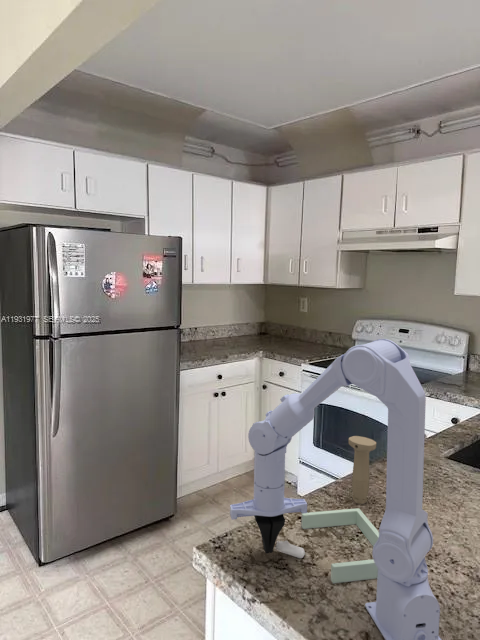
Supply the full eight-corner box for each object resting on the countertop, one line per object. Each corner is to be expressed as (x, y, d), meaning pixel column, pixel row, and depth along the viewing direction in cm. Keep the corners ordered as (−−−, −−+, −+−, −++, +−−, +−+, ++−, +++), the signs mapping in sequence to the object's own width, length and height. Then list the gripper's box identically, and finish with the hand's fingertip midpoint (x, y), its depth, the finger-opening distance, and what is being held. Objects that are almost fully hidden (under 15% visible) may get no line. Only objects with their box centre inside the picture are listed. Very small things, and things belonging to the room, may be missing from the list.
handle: (366, 510, 103) (368, 447, 102) (342, 499, 108) (344, 439, 107) (377, 503, 107) (380, 442, 105) (353, 493, 111) (356, 434, 110)
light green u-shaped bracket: (401, 575, 81) (402, 559, 81) (332, 583, 79) (333, 567, 79) (358, 521, 99) (359, 508, 99) (301, 526, 97) (301, 513, 96)
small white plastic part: (299, 567, 83) (300, 551, 83) (272, 555, 87) (272, 539, 87) (309, 557, 86) (309, 542, 86) (282, 546, 90) (282, 531, 90)
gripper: (300, 469, 90) (298, 534, 91) (227, 474, 87) (227, 541, 89) (311, 486, 83) (309, 556, 84) (233, 492, 80) (232, 564, 82)
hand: (267, 550), depth 86 cm, fingers closed
